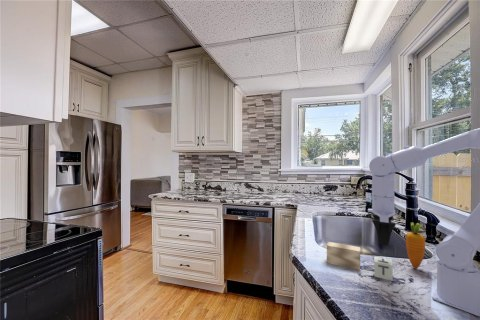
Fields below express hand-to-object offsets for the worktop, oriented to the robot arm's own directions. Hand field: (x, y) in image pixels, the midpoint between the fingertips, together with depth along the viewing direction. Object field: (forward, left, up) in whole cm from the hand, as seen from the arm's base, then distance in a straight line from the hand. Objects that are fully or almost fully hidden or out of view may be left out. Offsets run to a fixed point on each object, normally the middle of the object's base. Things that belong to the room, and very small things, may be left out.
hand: (383, 240), depth 67 cm
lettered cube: (0, 0, -10) cm, 10 cm away
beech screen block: (+11, +2, -11) cm, 15 cm away
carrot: (-5, -13, -11) cm, 17 cm away
